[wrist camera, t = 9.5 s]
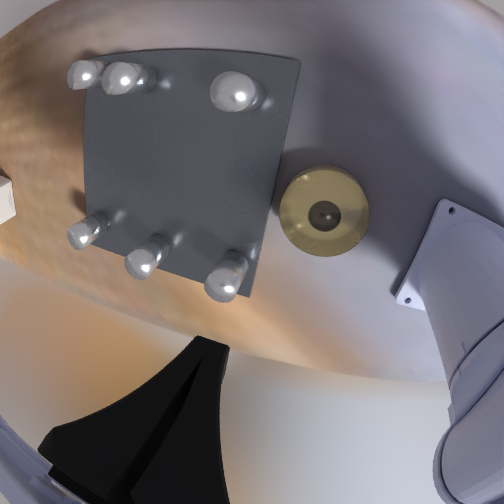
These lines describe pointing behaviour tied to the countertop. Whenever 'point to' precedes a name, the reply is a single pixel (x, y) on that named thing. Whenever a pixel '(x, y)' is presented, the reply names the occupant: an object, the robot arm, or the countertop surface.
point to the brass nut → (324, 211)
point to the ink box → (6, 200)
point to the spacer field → (183, 160)
